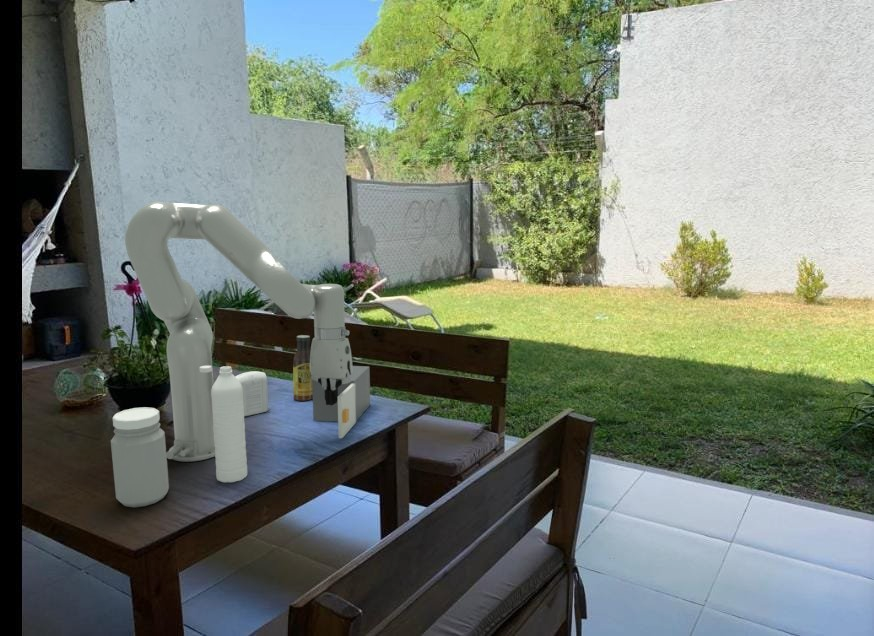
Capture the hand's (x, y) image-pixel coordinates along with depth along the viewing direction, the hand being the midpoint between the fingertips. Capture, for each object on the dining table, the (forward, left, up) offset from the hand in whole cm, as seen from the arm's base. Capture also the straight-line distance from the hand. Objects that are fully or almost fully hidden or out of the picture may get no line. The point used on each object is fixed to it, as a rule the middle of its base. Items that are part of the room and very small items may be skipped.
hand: (331, 403), depth 157 cm
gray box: (+20, +3, -9) cm, 22 cm away
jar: (-38, +27, -9) cm, 48 cm away
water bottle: (-26, +15, -9) cm, 32 cm away
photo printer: (+15, +29, -10) cm, 34 cm away
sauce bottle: (+31, +19, -9) cm, 38 cm away
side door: (+5, -3, -9) cm, 11 cm away
